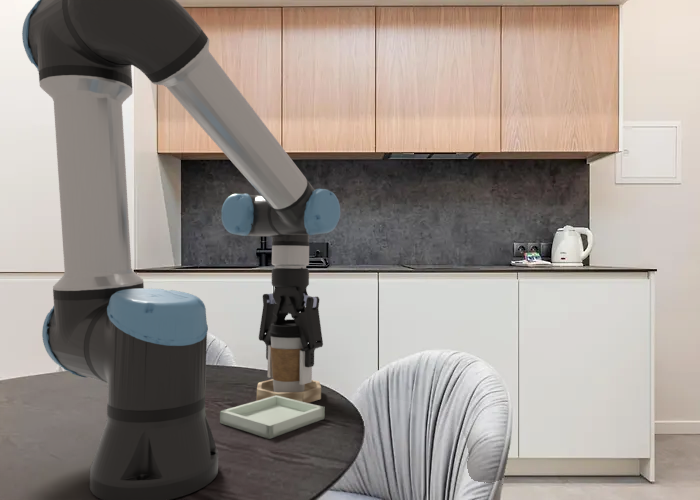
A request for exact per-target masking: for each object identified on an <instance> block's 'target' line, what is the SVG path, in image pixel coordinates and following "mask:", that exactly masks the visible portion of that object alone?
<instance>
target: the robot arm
mask: <svg viewBox="0 0 700 500" xmlns="http://www.w3.org/2000/svg"><path fill="white" fill-rule="evenodd" d="M21 35H22V45H23V47H24V48H23V49H24V51H25V53H26V56H27V58H28V60H29V61H30V62H31V64H33V65H34V66H35V68H36V70H37V72H38V80H39V81H38V82H39V88H41V90H43V92H45V94H47V95H48V96H49V97H50V98H51V99H52V101H53V111H54V112H53V113H54V128H55V143H56V158H57V171H58V172H57V173H58V174H57V175H58V191H59V203H60V204H59V205H60V219H61V220H60V221H61V233H62V234H61V236H62V237H61V238H62V249H63V250H62V251H63V268H64V273H63V275H62V276H61V278H60V279H59V280H58V281H57V282H55V284H54V285H53V286H52V293H53V294H52V295H53V296H52V297H53V307H52V308H51V309H50V310H49V312H48V313H46V316H45V319H44V321H43V325H42V331H41V332H42V333H41V334H42V335H41V336H42V342H43V343H42V344H43V346H44V349H45V351H46V353H47V355H48V356H49V358H50V359H51V360H52V362H54V363H55V364H56V365H58V366H59V367H60V368H62V369H64V370H66V371H67V372H69V373H71V374H72V375H75V376H78V377H81V378H90V379H93V380H95V381H100V382H104V383H106V384H107V396H106V397H107V399H106V400H107V401H106V402H107V403H106V404H107V406H106V407H107V408H106V423H105V425H104V427H103V431H102V434H101V437H100V439H99V443H98V445H97V448H96V451H95V454H94V457H93V459H92V463H91V465H90V469H89V491H90V493H92V495H94V496H95V497H96V498H98V499H100V500H174V499H178V498H181V497H185V496H188V495H190V494H193V493H195V492H198V491H199V490H201V489H202V488H205V487H206V486H207V485H209V484H210V483H212V481H213V480H215V478H216V477H217V475H218V472H219V451H218V448H217V446H216V442H215V440H214V435H213V433H212V430H211V426H210V424H209V420H208V418H207V414H206V379H207V378H206V376H207V374H206V373H207V346H208V345H207V343H208V342H207V340H208V339H207V338H208V329H209V328H208V327H209V326H208V321H207V320H208V319H207V309H206V305H205V303H204V301H203V300H202V299H201V298H200V297H198V296H197V295H194V294H193V293H189V292H184V291H178V290H173V289H170V290H167V289H163V288H146V287H145V286H144V279H143V278H142V277H141V276H140V275H138V274H137V273H136V272H135V271H133V269H132V259H131V258H132V254H131V240H130V223H129V222H130V221H129V204H128V189H127V188H128V187H127V172H126V169H127V168H126V167H127V166H126V154H125V138H124V137H125V136H124V116H123V103H124V102H125V101H126V100H127V99H129V98H130V97H131V95H132V94H133V76H132V75H133V74H132V73H133V72H132V66H133V67H135V68H137V69H138V70H140V72H142V73H143V74H144V75H145V76H146V78H147V79H148V80H149V81H150V82H151V83H152V84H153V85H155V86H164V87H166V89H167V90H168V91H169V92H170V93H171V94H172V96H173V97H174V98H175V99H176V100H177V101H178V103H180V105H181V106H182V107H183V108H184V109H185V110H186V111H187V112H188V114H189V115H190V116H191V117H192V119H194V121H195V122H196V123H197V124H198V125H199V127H200V128H202V130H204V132H205V133H206V134H207V136H209V137H210V139H211V141H213V142H214V143H215V145H217V147H218V148H219V149H220V150H221V151H222V153H223V154H224V155H225V156H226V157H227V158H228V159H229V160H230V161H231V163H232V164H233V166H235V167H236V168H237V169H238V171H239V172H240V173H241V175H243V176H244V178H246V180H247V181H248V182H249V183H250V184H251V186H252V187H253V188H254V189H255V190H256V191H257V193H258V194H259V195H258V194H257V195H256V194H255V195H254V194H253V195H252V194H249V193H233V194H231V195H229V196H228V197H226V199H225V200H224V202H223V204H222V207H221V217H220V218H221V223H222V225H223V227H224V229H225V230H226V231H227V232H228V233H230V234H231V235H232V234H233V235H236V236H237V235H238V236H242V237H246V236H249V237H270V238H271V265H272V266H274V267H273V268H272V269H271V286H273V287H274V291H273V293H264V294H262V304H263V305H262V312H261V319H260V324H259V325H260V327H259V332H258V340H259V341H262V342H264V344H265V345H266V347H265V349H266V350H265V352H266V353H265V358H266V360H267V378H271V379H272V378H273V373H272V361H271V349H270V346H271V336H269V331H270V330H271V324H272V323H273V322H275V323H276V324H277V325H279V324H283V323H284V320H286V317H287V316H288V315H290V316H291V318H292V319H294V320H295V323H296V326H299V333H300V340H301V343H302V346H303V349H301V351H300V384H301V385H303V384H307V383H311V382H312V380H313V379H312V378H313V376H312V375H313V371H312V370H313V367H314V366H315V350H316V349H318V348H322V347H323V345H324V343H323V335H322V327H321V326H322V325H321V319H320V313H319V312H320V311H319V305H320V297H319V296H310V295H308V294H309V293H308V291H307V289H308V288H307V287H308V286H310V270H309V268H307V266H309V265H310V236H315V235H323V234H328V233H331V232H333V231H334V230H335V229H336V227H337V226H338V223H339V222H340V218H341V205H340V201H339V199H338V197H337V195H336V194H335V193H334V192H333V191H331V190H329V189H325V188H316V189H315V188H314V187H313V186H312V185H311V183H310V181H308V179H307V178H306V176H305V175H304V174H303V172H302V171H301V170H300V169H299V167H298V166H297V165H296V163H295V162H294V161H293V160H292V158H291V157H290V155H289V154H288V153H287V152H286V150H285V148H284V147H283V146H282V144H280V142H279V141H278V140H277V139H276V137H275V136H274V135H273V133H272V131H270V129H269V128H268V126H267V125H266V124H265V123H264V121H263V120H262V119H261V118H260V116H259V115H258V114H257V112H256V111H255V109H254V108H253V107H252V106H251V105H250V102H248V100H247V99H246V98H245V97H244V95H243V94H242V93H241V91H240V90H239V89H238V87H237V86H236V85H235V83H234V82H233V81H232V80H231V79H230V77H229V76H228V74H227V73H226V71H225V70H224V69H223V68H222V66H221V65H220V64H219V62H218V61H217V60H216V59H215V57H214V56H213V55H212V53H211V52H210V49H209V48H210V38H209V37H208V35H207V34H206V33H205V31H204V30H203V29H202V27H201V26H200V25H199V24H198V23H197V21H196V20H195V19H194V18H193V17H192V15H191V14H190V13H189V12H188V10H187V9H186V8H185V7H184V6H183V5H181V3H180V2H178V0H38V1H36V2H35V4H34V5H33V7H32V8H30V10H29V12H28V13H27V14H26V17H25V19H24V21H23V25H22V31H21Z"/></svg>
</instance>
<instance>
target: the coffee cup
mask: <svg viewBox="0 0 700 500" xmlns="http://www.w3.org/2000/svg"><path fill="white" fill-rule="evenodd" d="M269 336H271V346H270V349H271V361H272V373H273V377H272V379H273V385H274V391H273V392H277V393H279V392H303V391H305V390H304V386H305V384H303V385H301V384H300V351H301V349H303V346H302V343H301V340H300V333H299V326H296V323H295V320H294V319H293V318H292V319H291V318H289V319H285V320H284V323H283V324H279V325H277V324H276V323H275V322H273V323H272V324H271V330H270V331H269Z"/></svg>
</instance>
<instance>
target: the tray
mask: <svg viewBox="0 0 700 500" xmlns="http://www.w3.org/2000/svg"><path fill="white" fill-rule="evenodd" d="M325 411H326V410H325V406H322V405H317V404H313V403H311V402H310V403H306V402H302V401H297V400H293V399H289V398H285V397H281V396H277V395H275V396H272V397H268V398H265V399H261V400H258V401H257V400H255V401H250V402H247V403H244V404H240V405H237V406H233V407H229V408H227V409H226V408H225V409H222V410H220V411H219V424H222V425H224V426H228V427H231V428H234V429H236V430H241V431H243V432H247V433H250V434H253V435H256V436H259V437H262V438H265V439H269V440H270V439H274V438H276V437H279V436H282V435H284V434H287V433H289V432H292V431H295V430H297V429H300V428H303V427H306V426H308V425H311V424H314V423H317V422H319V421H322V420H324V419H325V417H326V416H325V414H326V413H325Z"/></svg>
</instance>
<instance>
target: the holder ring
mask: <svg viewBox="0 0 700 500" xmlns="http://www.w3.org/2000/svg"><path fill="white" fill-rule="evenodd" d="M275 395H277V396H281V397H285V398H289V399H293V400H297V401H302V402H306V403H310V404H311V403H313V402H315V401H318V400H321V399H322V386H321V383H320V381H319V380H314V379H312V382H311V383H307V384H305V386H304V391H303V392H279V393H277V392H274V385H273V378H271V379H268V380H264V381H260V382H257V387H256V401H258V400H261V399H265V398H268V397H272V396H275Z"/></svg>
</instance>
